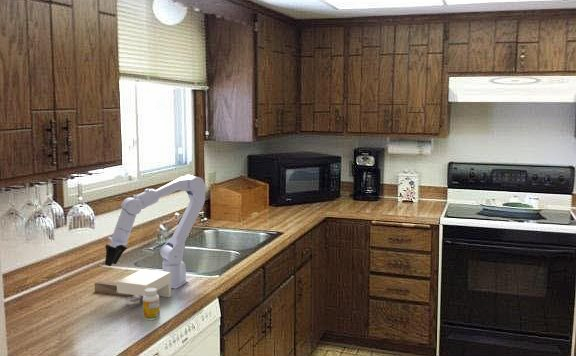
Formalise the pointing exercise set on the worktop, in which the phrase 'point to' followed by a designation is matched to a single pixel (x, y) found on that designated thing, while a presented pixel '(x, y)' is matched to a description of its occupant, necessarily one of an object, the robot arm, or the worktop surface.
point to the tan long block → (107, 287)
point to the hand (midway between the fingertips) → (110, 264)
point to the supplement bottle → (151, 304)
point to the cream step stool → (146, 283)
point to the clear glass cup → (132, 301)
